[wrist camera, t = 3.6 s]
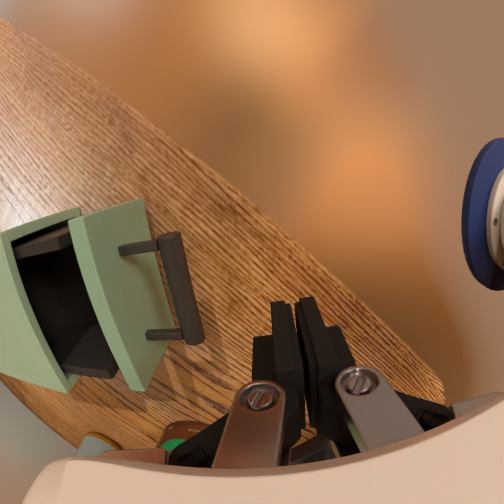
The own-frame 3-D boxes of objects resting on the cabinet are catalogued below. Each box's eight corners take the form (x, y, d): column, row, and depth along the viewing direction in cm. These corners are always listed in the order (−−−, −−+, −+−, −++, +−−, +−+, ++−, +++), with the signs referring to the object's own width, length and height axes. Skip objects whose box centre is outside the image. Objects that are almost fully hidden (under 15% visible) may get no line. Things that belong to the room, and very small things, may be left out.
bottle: (89, 442, 33) (60, 500, 19) (85, 424, 31) (49, 489, 17) (124, 458, 33) (99, 520, 19) (123, 443, 31) (93, 513, 17)
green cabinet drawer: (194, 186, 19) (151, 200, 11) (222, 327, 22) (205, 394, 15) (39, 225, 20) (-19, 249, 13) (73, 330, 23) (32, 372, 16)
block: (334, 424, 27) (340, 449, 23) (368, 439, 28) (374, 461, 24) (277, 456, 29) (277, 478, 26) (314, 468, 31) (316, 489, 27)
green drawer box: (79, 206, 20) (-1, 232, 11) (116, 331, 24) (68, 394, 15) (5, 231, 22) (-53, 257, 12) (37, 328, 25) (-7, 369, 16)
